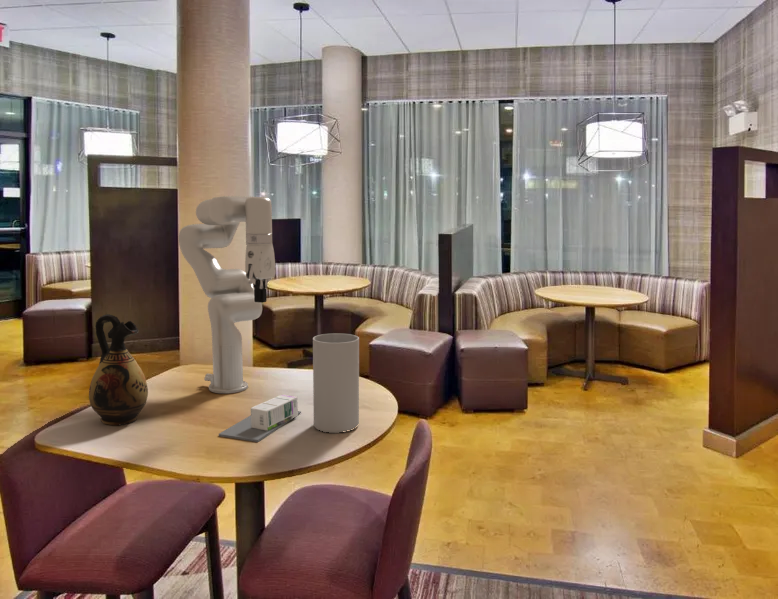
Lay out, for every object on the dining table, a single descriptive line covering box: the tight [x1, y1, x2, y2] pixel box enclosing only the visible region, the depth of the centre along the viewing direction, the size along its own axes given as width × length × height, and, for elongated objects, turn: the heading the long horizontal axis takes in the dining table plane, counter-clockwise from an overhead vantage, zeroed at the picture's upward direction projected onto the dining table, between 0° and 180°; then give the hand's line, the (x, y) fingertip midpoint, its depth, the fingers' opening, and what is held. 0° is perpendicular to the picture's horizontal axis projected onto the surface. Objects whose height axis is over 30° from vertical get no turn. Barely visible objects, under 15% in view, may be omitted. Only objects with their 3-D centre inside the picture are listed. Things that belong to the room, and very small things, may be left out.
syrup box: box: [250, 394, 299, 431], centre depth 176 cm, size 6×6×14 cm
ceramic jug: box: [88, 313, 149, 427], centre depth 177 cm, size 17×15×30 cm
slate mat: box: [218, 410, 302, 443], centre depth 176 cm, size 12×24×1 cm, turn 161°
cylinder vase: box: [312, 332, 360, 434], centre depth 174 cm, size 12×12×25 cm
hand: (260, 301), depth 187 cm, fingers closed
